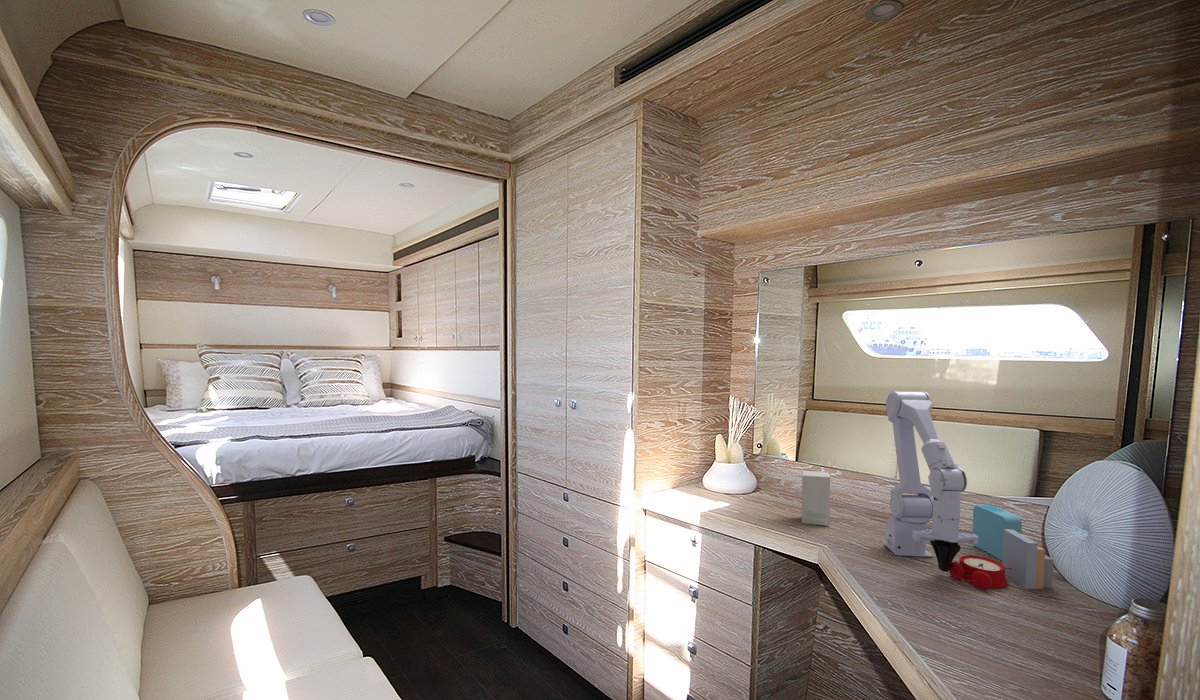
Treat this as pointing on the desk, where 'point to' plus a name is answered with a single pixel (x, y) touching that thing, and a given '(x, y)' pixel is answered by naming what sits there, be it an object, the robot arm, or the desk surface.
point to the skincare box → (816, 498)
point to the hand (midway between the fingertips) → (943, 570)
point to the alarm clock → (979, 572)
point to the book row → (1026, 561)
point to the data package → (993, 528)
